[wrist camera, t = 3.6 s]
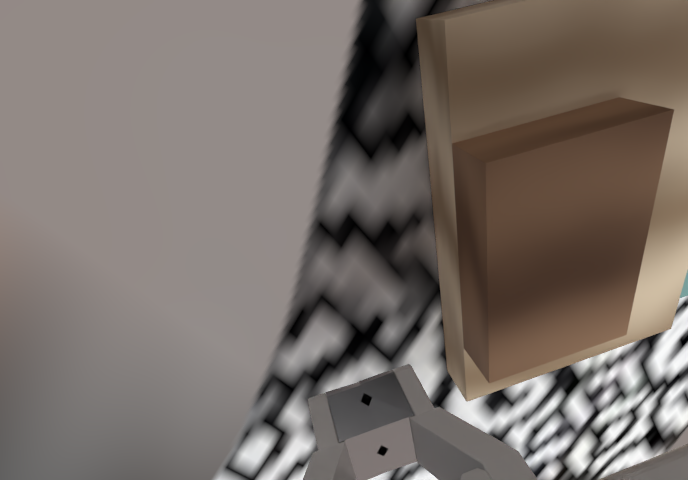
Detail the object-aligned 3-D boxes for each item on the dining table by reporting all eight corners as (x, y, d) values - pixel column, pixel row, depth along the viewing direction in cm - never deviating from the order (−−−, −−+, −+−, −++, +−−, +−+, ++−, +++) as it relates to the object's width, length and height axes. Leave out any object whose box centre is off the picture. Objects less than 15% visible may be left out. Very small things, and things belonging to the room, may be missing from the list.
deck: (415, 18, 13) (444, 20, 12) (715, -52, 15) (780, -60, 13) (447, 370, 21) (466, 401, 20) (637, 304, 23) (670, 328, 21)
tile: (451, 143, 13) (485, 163, 12) (619, 96, 14) (674, 109, 12) (463, 347, 18) (489, 383, 16) (589, 304, 19) (626, 334, 17)
